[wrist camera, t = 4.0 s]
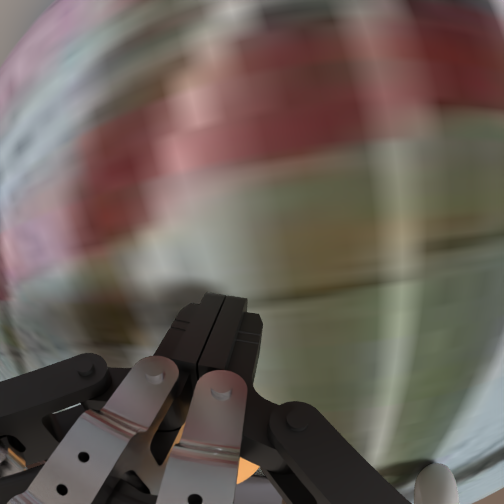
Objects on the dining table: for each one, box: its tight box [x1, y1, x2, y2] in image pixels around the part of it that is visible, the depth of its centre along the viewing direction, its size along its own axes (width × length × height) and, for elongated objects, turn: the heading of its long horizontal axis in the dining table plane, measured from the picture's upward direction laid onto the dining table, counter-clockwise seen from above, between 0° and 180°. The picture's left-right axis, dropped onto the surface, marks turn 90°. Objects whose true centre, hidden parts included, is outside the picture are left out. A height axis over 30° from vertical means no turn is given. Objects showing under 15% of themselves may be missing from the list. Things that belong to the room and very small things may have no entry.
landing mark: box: [234, 475, 282, 504], centre depth 23 cm, size 14×14×1 cm
